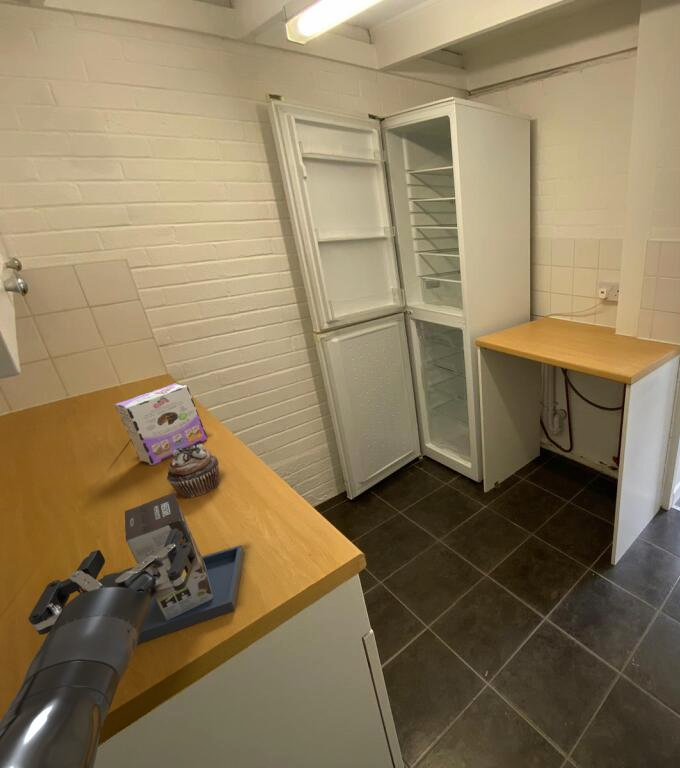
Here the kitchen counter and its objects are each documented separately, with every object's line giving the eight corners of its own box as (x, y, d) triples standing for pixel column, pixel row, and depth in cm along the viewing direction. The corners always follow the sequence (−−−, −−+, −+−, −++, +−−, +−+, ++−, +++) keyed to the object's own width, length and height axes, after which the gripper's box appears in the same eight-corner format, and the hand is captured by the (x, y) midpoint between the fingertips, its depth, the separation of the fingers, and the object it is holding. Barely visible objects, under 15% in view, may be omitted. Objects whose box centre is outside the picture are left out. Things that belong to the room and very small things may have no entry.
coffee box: (215, 598, 67) (181, 519, 61) (165, 623, 64) (123, 542, 57) (207, 565, 74) (175, 491, 67) (161, 585, 70) (123, 509, 63)
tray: (113, 652, 60) (107, 643, 59) (142, 584, 71) (137, 575, 70) (235, 610, 66) (231, 601, 65) (244, 553, 77) (241, 544, 76)
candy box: (196, 435, 118) (175, 382, 111) (208, 439, 115) (188, 385, 109) (139, 461, 106) (113, 403, 100) (152, 466, 104) (126, 407, 97)
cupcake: (169, 489, 95) (152, 451, 91) (217, 469, 102) (204, 434, 98) (180, 506, 89) (163, 467, 85) (230, 484, 96) (217, 447, 92)
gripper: (160, 594, 45) (191, 505, 58) (-26, 654, 39) (57, 541, 53) (184, 641, 48) (209, 546, 61) (15, 703, 42) (83, 584, 56)
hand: (138, 544), depth 57 cm, fingers open, 8 cm apart
